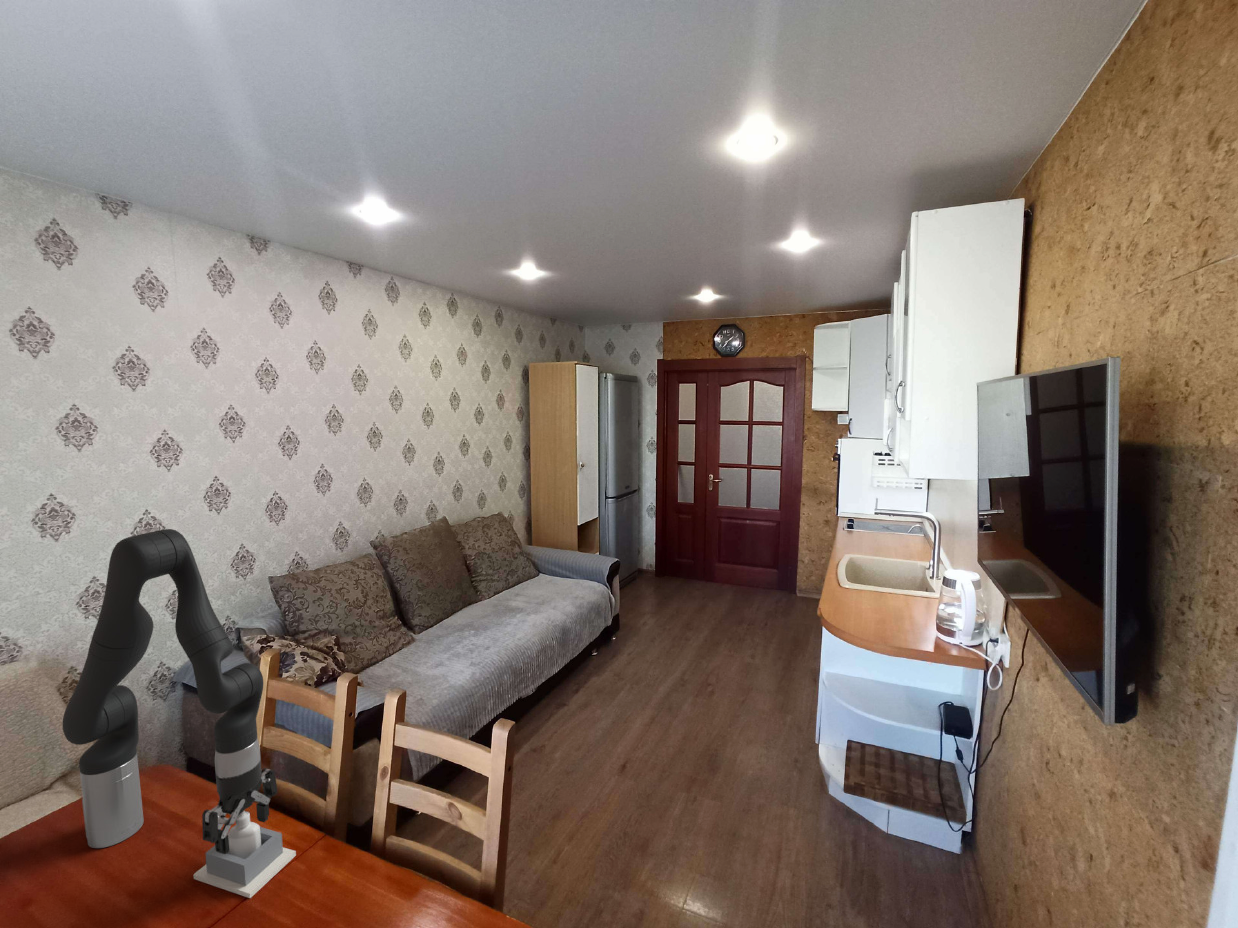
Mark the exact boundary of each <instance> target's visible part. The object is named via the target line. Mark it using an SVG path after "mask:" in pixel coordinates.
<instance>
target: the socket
mask: <svg viewBox="0 0 1238 928" xmlns="http://www.w3.org/2000/svg"><path fill="white" fill-rule="evenodd" d="M260 834H261V846H260V847H259V848H258V849H257V850H256V851H255V852H253V853H252V854H251V855H250V856H249V857H247V858H246V859H243V858H240V857H237V856H234V855H231V854H228V852H227V853H226V854H222V853H219V852H216V850H215V845H214V846H212V847H211V848H209V850H207V851H206V852H205V865H203V866H202V867H201V868H199V870H196V872H195V873H194V874H193V880H196V881H199V882H201V883H204V884H208V885H210V886H213V887H216V888H219V889H223V890H225V891H227V892H230V893H233V894H237V895H240V896H242V897H245V898H248V899H252V898H253V896H254V895H256V894H257V893H258V892H259V890H261V889H262V888H263V887H264V886H265V885H266V884H267V883H268V882H269V881H270V880H271V879H273V877H275V876H276V875H277V874H278V873H279V872H280V871H281V870H283V868H284V867H286V866H287V865H288V863H290V862H291V861H292V860H293V859H294V858H295V857H296V856H297V851H296V850H293V849H290V848H286V847H283V845H284V844H283V834H282V832H280V831H275V830H273V829H268V828H265V827H263V826H260Z"/></svg>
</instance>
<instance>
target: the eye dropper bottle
mask: <svg viewBox="0 0 1238 928" xmlns="http://www.w3.org/2000/svg"><path fill="white" fill-rule="evenodd" d="M245 810H246V809H245ZM245 810H244V811H243V812H242V813H241V814H239V815H238V816H237V818H236V820H235V825H234V826H233V825H232V827H230V829H229V831H228V833H227V835H228V839H229V852H228V854H231V855H234V856H237V857H240V858H243V859H246V858H247V857H249V856H250V855H251V854H252V853H253V852H255V851H256V850H257V849H258V848H259V847H260V846H261V834H260V827H261V826H260V824H258V823H256V822H253V821H251V815H250V811H245Z"/></svg>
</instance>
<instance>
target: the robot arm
mask: <svg viewBox="0 0 1238 928" xmlns="http://www.w3.org/2000/svg"><path fill="white" fill-rule="evenodd" d="M166 575H169V576H170V578H171V580H172V581H173V583H174V585H175V587H176V591H177V607H176V608H177V609H176V615H175V623H174V624H175V626H174V627H175V634H176V637H177V640H178V642H179V644H180V646H181V647H182V650H183V651H184V653H185V654H186V657H187V659H188V661H190V663H191V665H192V670H193V674H194V679H195V684H196V690H197V691H196V692H197V697H198V700H199V702H200V704H201V706H202V707H203V708H204V709H205V710H206V711H207V712H209V713H212V714H217V715H221V714H223V715H221V716H220V717H219V718H218V719H217V721H216V722H215V723H214V728H213V736H214V737H213V738H214V749H215V751H214V752H215V755H214V767H215V768H214V770H215V779H216V781H215V783H216V792H217V794H218V797H219V800H218V803H217V805H216V806H214V807H213V808H211V809H210V810H209V809H205V810H203V812H202V814H201V815H202V816H201V817H202V818H201V819H202V820H201V821H202V840H203V841H206V842H209V843H211V844H214V846H215V850H216V852H219V853H222V854H226V853H227V852H229V839H228V832H229V831H230V829H231V828H232V827H231V826H233V825H234V824H235V823H236V818H237V816H238V815H239V814H241V813H242V812H243V811H244V810H246V809H248V808H250V807H251V806H253V803H254V802H256V803H257V804H256V819H257V821H259V822H261V823H265V822H267V820H268V819H269V816H270V805H269V803H270V802H271V799H272V797H274V796H276V795H277V793H278V787H277V779H276V771H275V770H273V769H270V768H266V767H264V768H263V769H262V764H261V763H262V761H261V760H262V759H261V748H260V743H259V740H258V738H259V737H258V727H257V717H258V713H259V708H260V704H261V701H262V697H263V696H262V695H263V691H264V676H263V673H262V671H261V670H260V668H259V667H258V666H257V665H255V664H254V663H250V662H244V663H240V664H238V665H236V666H234V667H232V668H230V669H228V670H227V671H224V672H222V661H224V660H225V659H227V658H228V657H229V656H230V655H232V654H233V651H234V648H235V647H234V645H233V642H232V640H231V639H230V637H229V636H228V634H227V632H226V629H224V626H223V625H222V624H221V622H220V621H219V619H218V617H217V614H216V613H215V612H214V609H213V606H212V604H211V602H210V599H209V596H208V593H207V590H206V587H205V585H204V582H203V578H202V575H201V572H200V570H199V566H198V565H197V562H196V559H195V556H194V554H193V551H192V548H191V547H190V544H189V542H188V540H187V539H186V537H184V535H183V534H182V533H181V532H179V531H178V530H176V529H172V528H165V529H159V530H154V531H150V532H146V533H141V534H136V535H132V536H128V537H125V538H123V539H121V540H119V541H118V542H117V543H116V544H115V546H114V547H113V549H112V552H111V554H110V558H109V563H108V569H107V576H106V585H105V591H104V596H103V600H102V605H101V608H100V612H99V615H98V619H97V623H96V624H95V625H96V626H95V628H94V631H93V633H92V637H91V640H90V643H89V647H88V651H87V656H86V659H85V661H84V662H85V663H84V665H83V668H82V671H81V673H80V677H79V680H78V682H77V684H76V687H75V688H74V691H73V692H72V695H71V697H70V699H69V701H68V703H67V705H66V707H65V710H64V714H63V718H62V724H61V725H62V726H61V727H62V732H63V735H64V738H65V739H66V740H67V741H68V742H69V743H71V744H72V745H76V746H79V745H81V746H82V745H87V744H89V743H92V742H94V741H95V742H94V743H93V744H92V745H91V746H90V747H88V749H86V750H85V751H84V752H83V753H82V755H81V756H80V758H79V759H78V760H79V761H78V767H79V777H80V784H81V795H82V799H81V802H82V810H83V821H84V829H85V837H86V840H87V845H88V846H89V847H90V848H92V849H103V848H107V847H112V846H114V845H116V844H119V843H121V842H123V841H125V840H127V839H128V838H131V837H132V836H133V835H135V833H137V832H138V831H140V829H141V827H143V824H144V813H143V801H142V800H143V799H142V791H141V781H140V771H139V762H138V750H137V747H138V743H139V739H140V738H139V737H140V736H139V735H140V733H139V705H138V702H137V701H138V700H137V699H136V695H135V694H134V692H133V691H132V690H131V689H130V688H129V687H128V686H126V685H121V684H120V683H121V682H122V681H123V680H124V679H125V678H126V677H127V676H128V675H129V674H130V673H131V672H132V671H133V670H134V669H135V667H136V666H137V665H138V664H139V663H140V662H141V660H142V658H143V657H144V656H145V654H146V652H147V649H148V647H149V645H150V642H151V638H152V635H153V632H154V621H153V618H152V615H150V613H149V612H148V610H147V609H146V608H145V607H144V605H142V603H141V602H140V597H141V596H140V595H141V591H142V589H143V587H144V584H145V583H146V582H147V581H150V580H152V579H153V580H154V579H156V578H160V577H163V576H166ZM261 786H262V788H263V790H262V791H263V793H261V792H260V788H261ZM226 815H230V817H226Z"/></svg>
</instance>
